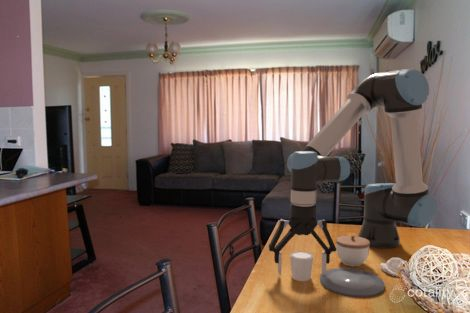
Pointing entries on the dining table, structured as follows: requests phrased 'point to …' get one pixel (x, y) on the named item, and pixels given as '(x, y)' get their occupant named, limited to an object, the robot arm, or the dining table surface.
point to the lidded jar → (352, 249)
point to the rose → (392, 266)
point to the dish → (352, 282)
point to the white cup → (301, 265)
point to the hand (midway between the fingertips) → (301, 273)
